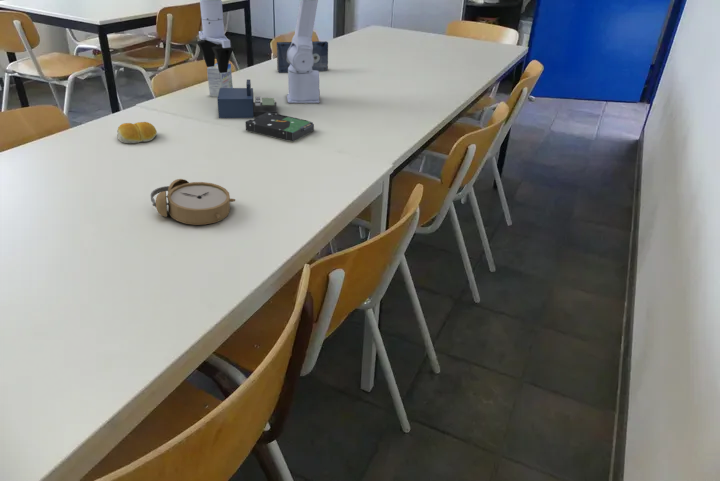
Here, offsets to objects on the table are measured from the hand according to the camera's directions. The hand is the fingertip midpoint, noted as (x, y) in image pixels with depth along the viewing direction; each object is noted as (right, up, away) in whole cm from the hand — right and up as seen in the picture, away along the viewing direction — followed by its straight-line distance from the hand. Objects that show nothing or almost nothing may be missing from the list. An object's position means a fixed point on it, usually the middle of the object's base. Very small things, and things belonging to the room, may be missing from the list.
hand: (216, 69), depth 156 cm
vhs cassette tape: (+20, +12, +42) cm, 48 cm away
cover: (+6, -12, -1) cm, 14 cm away
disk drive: (+20, -20, -13) cm, 31 cm away
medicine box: (-2, -4, +13) cm, 14 cm away
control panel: (+10, -12, -1) cm, 16 cm away
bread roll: (-14, -24, -21) cm, 35 cm away
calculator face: (+14, -10, -1) cm, 17 cm away
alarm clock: (+9, -43, -52) cm, 68 cm away
